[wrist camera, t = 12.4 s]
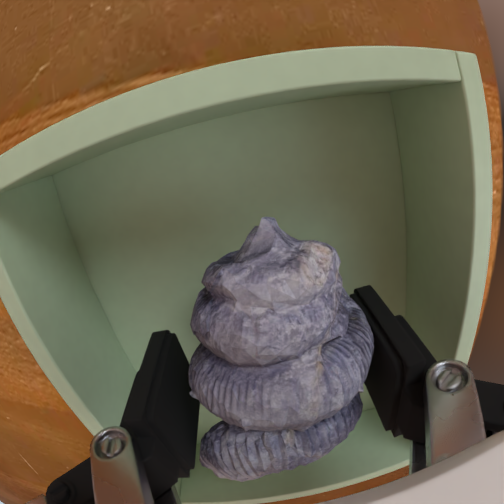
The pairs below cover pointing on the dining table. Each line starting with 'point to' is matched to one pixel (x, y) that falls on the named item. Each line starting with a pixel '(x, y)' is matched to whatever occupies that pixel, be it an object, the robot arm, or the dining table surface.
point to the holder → (250, 221)
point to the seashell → (277, 355)
